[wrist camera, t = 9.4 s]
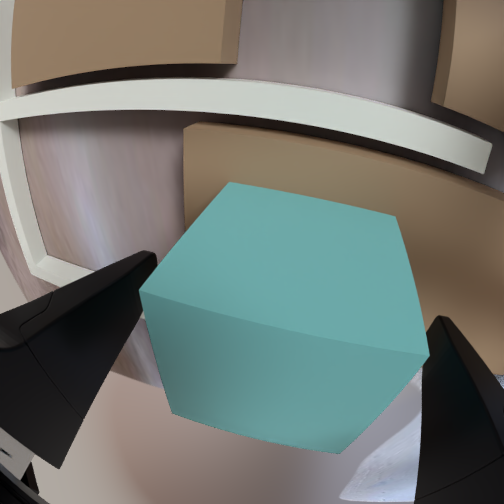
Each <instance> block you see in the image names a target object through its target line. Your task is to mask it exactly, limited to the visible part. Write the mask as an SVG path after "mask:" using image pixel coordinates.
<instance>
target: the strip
mask: <svg viewBox="0 0 504 504" xmlns="http://www.w3.org/2000/svg"><path fill="white" fill-rule="evenodd" d="M183 176H184V218H185V232H186V231H187V230H188V229H189V227H190V226H191V225H192V224H193V223H194V222H195V220H196V219H197V218H198V217H199V216H200V215H201V213H202V212H203V211H204V210H205V209H206V208H207V206H208V205H209V204H210V203H211V202H212V201H213V199H214V198H215V197H216V196H217V195H218V194H219V193H220V192H221V190H222V189H223V188H224V187H225V186H226V185H227V184H228V183H229V182H233V183H239V184H245V185H251V186H256V187H262V188H267V189H273V190H278V191H284V192H289V193H294V194H299V195H304V196H309V197H314V198H318V199H323V200H328V201H332V202H337V203H341V204H346V205H350V206H355V207H359V208H363V209H367V210H372V211H376V212H380V213H384V214H388V215H392V216H395V217H396V220H397V223H398V226H399V229H400V232H401V235H402V239H403V242H404V245H405V249H406V252H407V256H408V259H409V263H410V266H411V270H412V274H413V278H414V282H415V286H416V290H417V294H418V298H419V303H420V307H421V312H422V317H423V321H424V327H425V332H427V330H428V328H429V327H430V325H431V324H432V322H433V320H434V319H435V317H436V316H438V315H442V316H447V317H449V318H450V319H451V320H452V321H453V322H454V324H455V325H456V326H457V327H458V329H459V330H460V331H461V332H462V334H463V335H464V336H465V337H466V339H467V340H468V341H469V342H470V344H471V345H472V346H473V348H474V349H475V350H476V352H477V353H478V354H479V356H480V357H481V358H482V360H483V361H484V362H485V364H486V365H487V366H488V368H489V369H490V370H491V372H492V373H493V374H497V375H504V193H503V192H501V191H498V190H496V189H493V188H491V187H488V186H486V185H483V184H481V183H478V182H475V181H473V180H470V179H467V178H465V177H462V176H459V175H456V174H453V173H451V172H448V171H445V170H442V169H439V168H436V167H433V166H429V165H426V164H423V163H420V162H416V161H413V160H410V159H406V158H403V157H399V156H396V155H392V154H388V153H385V152H381V151H377V150H373V149H369V148H365V147H361V146H356V145H352V144H348V143H343V142H339V141H334V140H329V139H324V138H319V137H314V136H308V135H303V134H297V133H291V132H285V131H279V130H272V129H265V128H258V127H250V126H242V125H234V124H224V123H214V122H202V121H199V122H197V123H195V124H193V125H190V126H188V127H186V128H184V129H183ZM421 367H422V368H423V365H422V366H421Z"/></svg>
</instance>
